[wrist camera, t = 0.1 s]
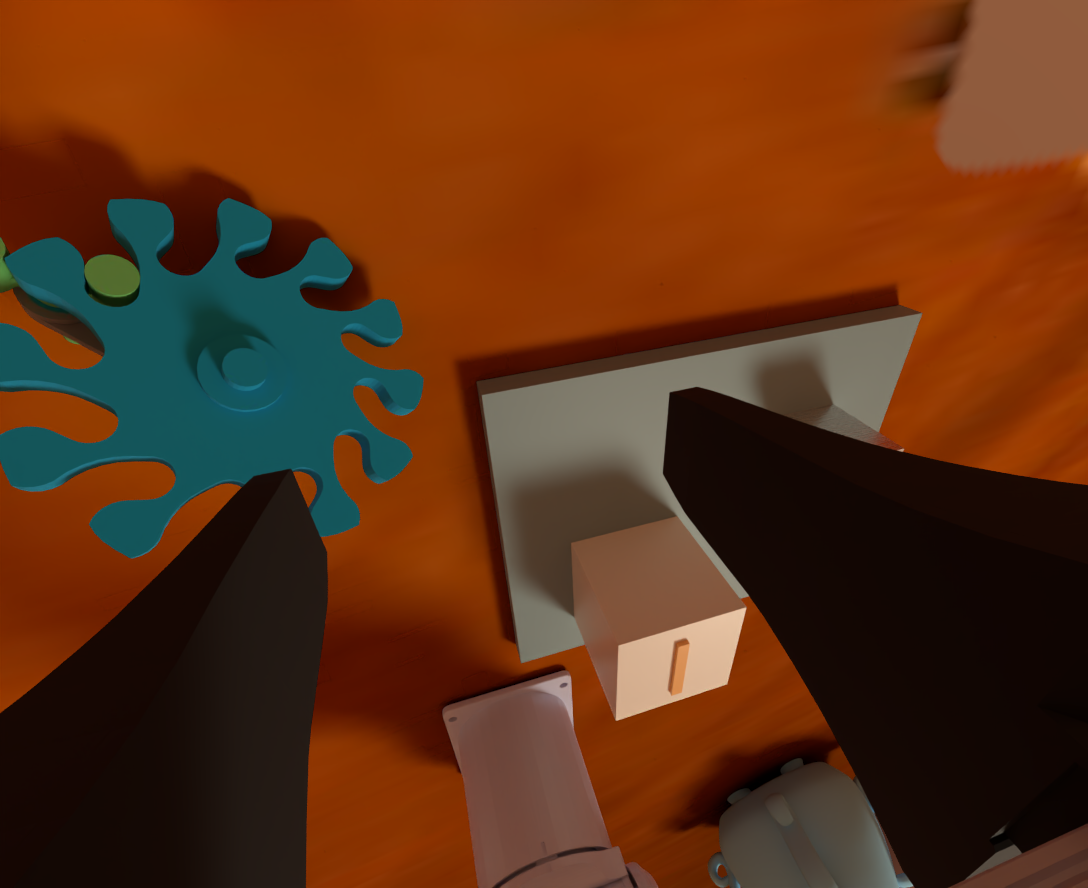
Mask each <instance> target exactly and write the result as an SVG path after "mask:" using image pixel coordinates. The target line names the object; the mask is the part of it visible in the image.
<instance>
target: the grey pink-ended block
mask: <svg viewBox="0 0 1088 888" xmlns="http://www.w3.org/2000/svg"><path fill="white" fill-rule="evenodd" d="M784 416H787V417H790V418H792V419H795V420H798V421H801V422H804V423H807V424H810V425H813V426H816V427H819V428H822V429H825V430H828V431H831V432H834V433H838V434H841V435H844V436H847V437H851V438H854V439H857V440H860V441H864V442H867V443H871V444H874V445H878V446H882V447H885V448H889V449H893V450H897V451H901V452H903V450H904V448H902V447H901V446H899V445H898V444H896V443H895V442H893V441H891V440H890V439H888V438H887V437H885V436H883V435H882V434H880V433H879V432H877V431H875V430H874V429H872V428H871V427H869V426H868V425H866V424H864V423H863V422H861V421H860V420H858V419H856V418H855V417H853V416H852V415H850V414H848V413H847V412H845V411H844V410H842V409H841V408H839V407H837V406H836V405H834V404H830V405H825V406H821V407H816V408H812V409H807V410H803V411H798V412H794V413H789V414H784Z"/></svg>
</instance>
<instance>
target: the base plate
mask: <svg viewBox="0 0 1088 888" xmlns="http://www.w3.org/2000/svg"><path fill="white" fill-rule="evenodd" d="M921 316H922V313H921V312H918V311H915V310H912V309H910V308H907V307H904V306H901V305H897V306H891V307H886V308H880V309H875V310H869V311H864V312H858V313H853V314H847V315H841V316H836V317H830V318H825V319H819V320H814V321H808V322H803V323H797V324H792V325H786V326H780V327H775V328H769V329H764V330H758V331H753V332H747V333H742V334H736V335H731V336H725V337H720V338H714V339H708V340H703V341H697V342H692V343H686V344H681V345H675V346H670V347H664V348H659V349H653V350H648V351H642V352H636V353H631V354H625V355H620V356H614V357H609V358H603V359H598V360H592V361H587V362H581V363H576V364H570V365H564V366H559V367H553V368H548V369H542V370H537V371H531V372H526V373H520V374H515V375H509V376H504V377H498V378H492V379H487V380H481V381H476V383H477V389H478V396H479V403H480V409H481V416H482V422H483V429H484V435H485V442H486V449H487V455H488V462H489V468H490V475H491V482H492V488H493V495H494V501H495V508H496V515H497V521H498V528H499V534H500V541H501V547H502V554H503V561H504V567H505V574H506V580H507V587H508V594H509V600H510V607H511V613H512V620H513V626H514V633H515V640H516V646H517V649H518V653H519V657H520V660H521V663H524V662H527V661H530V660H534V659H537V658H540V657H544V656H547V655H551V654H554V653H557V652H561V651H564V650H568V649H571V648H574V647H578V646H581V645H585V643H584V640H583V638H582V635H581V633H580V630H579V628H578V625H577V623H576V620H575V618H574V600H573V576H572V553H571V543H573V542H577V541H581V540H585V539H589V538H593V537H597V536H601V535H605V534H608V533H612V532H616V531H620V530H624V529H628V528H632V527H636V526H640V525H644V524H648V523H652V522H656V521H660V520H664V519H668V518H672V517H676V516H678V518H679V519H680V520H681V522H682V523H683V524H684V525H685V527H686V528H687V529H688V531H689V532H690V533H691V535H692V536H693V537H694V539H695V540H696V541H697V543H698V544H699V545H700V547H701V548H702V549H703V551H704V552H705V553H706V555H707V556H708V557H709V558H710V560H711V561H712V562H713V564H714V565H715V566H716V568H717V569H718V570H719V572H720V573H721V574H722V576H723V577H724V578H725V580H726V581H727V582H728V584H729V585H730V586H731V588H732V589H733V590H734V592H735V593H736V594H737V595H738V597H739V598H740V599H741V598H744V597H747V596H749V595H748V594H747V593H746V591H745V590H744V589H743V587H742V586H741V585H740V584H739V582H738V581H737V580H736V578H735V577H734V576H733V575H732V573H731V572H730V571H729V570H728V568H727V567H726V566H725V564H724V563H723V562H722V561H721V559H720V558H719V557H718V555H717V554H716V553H715V552H714V550H713V549H712V548H711V547H710V545H709V544H708V543H707V541H706V540H705V539H704V537H703V536H702V535H701V534H700V532H699V531H698V530H697V528H696V527H695V526H694V524H693V523H692V522H691V520H690V519H689V518H688V516H687V515H686V514H685V512H684V511H683V509H682V507H681V506H680V504H679V502H678V501H677V499H676V497H675V496H674V494H673V492H672V490H671V488H670V486H669V485H668V483H667V481H666V479H665V477H664V475H663V463H664V451H665V439H666V428H667V416H668V404H669V393H670V392H673V391H678V390H683V389H688V388H693V387H700V388H704V389H708V390H712V391H715V392H718V393H722V394H725V395H728V396H731V397H733V398H736V399H739V400H742V401H745V402H748V403H750V404H753V405H756V406H759V407H762V408H764V409H767V410H770V411H773V412H775V413H778V414H781V415H784V414H789V413H794V412H798V411H803V410H807V409H812V408H816V407H821V406H825V405H830V404H834V405H836V406H837V407H839V408H841V409H842V410H844V411H845V412H847V413H848V414H850V415H852V416H853V417H855V418H856V419H858V420H860V421H861V422H863V423H864V424H866V425H868V426H869V427H871V428H872V429H874V430H875V431H877V432H879V429H880V427H881V424H882V421H883V419H884V416H885V413H886V410H887V408H888V405H889V402H890V400H891V397H892V394H893V391H894V389H895V386H896V383H897V381H898V378H899V375H900V372H901V370H902V367H903V364H904V362H905V359H906V356H907V353H908V351H909V348H910V345H911V343H912V340H913V337H914V335H915V332H916V329H917V326H918V324H919V321H920V318H921Z"/></svg>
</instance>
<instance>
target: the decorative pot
mask: <svg viewBox="0 0 1088 888" xmlns="http://www.w3.org/2000/svg"><path fill="white" fill-rule="evenodd" d="M780 772H781V774H782V775H781V776H779V777H777V778H775V779H773V780H771V781H769V782H767V783H765V784H763V785H762V786H760V787H758V788H757V789H755V790H753V791H752V792H751V791H750V789H749V788H744V789H740V790H738V791H736V792H734V793H733V794H731V795H730V796H729V797H728V799H727V801H728V802H729V803H730V804H732V806H731V807H729V808H728V809H727V810H726V811H725V812H724V813H723V814H722V816H721V817H720V820H719V842H720V848H721V852H717V853H715V854H714V855H713V856H712V857H711V858H710V860H709V862H708V871H709V874H710V877H711V879H712V880H713V882H714V883H715V884H716V885H718V886H720V887H726V886H728V885H730V888H740V886H741V887H742V888H899V887H903V888H906V887H911V886H913V885H912V883H911V882H910V880H909V879H908V877H907V876H906V875H905V873H901V874H898V875H896V874H895V870H894V867H893V863H892V860H891V856H890V853H889V850H888V847H887V844H886V841H885V839H884V835H883V833H882V831H881V828H880V826H879V824H878V821H877V819H876V817H875V816H874V814H873V812H874V810H873V808H872V806H871V804H870V802H869V800H868V798H867V796H866V794H865V792H864V790H863V788H862V786H861V784H860V782H859V781H858V779H857V777H856V776H855V777H854V779H853V781H852V780H851V779H850V778H849V777H848V776H847V775H845V774H844V773H842V772H841V771H839V770H837V769H836V768H834V767H832V766H830V765H828V764H827V763H825V762H814V763H810V764H807V765H803V760H802V759H801V758H797V759H794V760H791V761H790V762H788V763H786V764H785V765H784V766H783V767H782V768H781V769H780ZM872 811H873V812H872ZM874 813H875V812H874ZM721 864H722V865H724V867H725V868H726V871H727V874H728V875H727V876H725V877H724V878H721V877H719V876H718V874H717V868H718V866H719V865H721Z"/></svg>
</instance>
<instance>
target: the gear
mask: <svg viewBox="0 0 1088 888" xmlns="http://www.w3.org/2000/svg"><path fill="white" fill-rule="evenodd" d="M107 212H108V217H109V222H110V226H111V230H112V234H113V236H114V237H115V239H116V240H117V242H118V243H119V244H120V245H121V246H122V247H123V248H124V249H125V250H126V251H127V252H128V253H129V255H130V256H131V257H132V259H133V260H134V262H135V264H136V266H137V268H138V270H139V272H138V270H137V268H136V267H135V266H134V265H133V264H132V263H131V262H129V261H128V260H126V259H124V258H122V257H119V256H116V255H99V256H96V257H93V258H91V259H90V260H89V261H88V262H87V264H86V265H85V264H84V261H83V258H82V256H81V254H80V253H79V252H78V250H77V249H76V248H75V247H74V246H72V245H71V244H70V243H68V242H67V241H65V240H63V239H60V238H58V237H54V238H47V239H43V240H39V241H36V242H33V243H31V244H29V245H26V246H24V247H22V248H20V249H18V250H17V251H15V252H14V253H12V254H10V253H9V251H8V249H7V248H6V246H5V244H4V242H3V241H2V239H1V237H0V293H1V292H5V291H8V290H10V289H12V288H13V291H14V294H15V295H16V297H17V299H18V301H19V302H20V304H21V305H22V307H23V308H24V310H25V311H26V312H27V314H28V315H29V316H30V317H32V318H33V319H34V320H36V321H37V322H39V323H41V324H42V325H44V326H46V327H48V328H50V329H52V330H54V331H56V332H58V333H60V334H61V335H63V336H64V338H65V339H66V340H68V341H69V342H71V343H74V344H80V345H82V346H84V347H86V348H88V349H90V350H92V351H94V352H95V353H97V354H99V355H101V356H103V358H102V360H101V361H100V362H99V363H98V364H96V365H94V366H92V367H89V368H86V369H79V370H77V369H68V368H64V367H62V366H59V365H57V364H56V363H54V362H53V361H51V360H50V359H49V357H48V356H47V355H46V354H45V352H44V351H43V349H42V348H41V347H40V345H39V344H38V342H37V341H36V340H35V339H34V338H33V336H32V335H30V334H29V333H27V332H26V331H25V330H22V329H20V328H18V327H16V326H13V325H9V324H4V323H0V391H4V392H16V391H27V390H42V391H53V392H60V393H65V394H69V395H73V396H77V397H80V398H82V399H84V400H87V401H89V402H92V403H94V404H96V405H98V406H100V407H102V408H104V409H106V410H108V411H110V412H112V413H113V414H115V415H116V416H117V417H118V420H119V421H118V427H117V429H116V431H115V432H114V433H113V434H112V435H111V436H110V437H109V438H107V439H105V440H103V441H100V442H96V443H81V442H77V441H74V440H71V439H69V438H67V437H64V436H62V435H60V434H58V433H56V432H53V431H51V430H48V429H45V428H39V427H21V428H15V429H12V430H9V431H6V432H5V433H3V434H1V435H0V461H1V464H2V467H3V470H4V472H5V474H6V476H7V478H8V480H9V482H10V484H11V486H13V487H16V488H18V489H20V490H25V491H45V490H49V489H53V488H55V487H58V486H60V485H62V484H63V483H65V482H66V481H68V480H69V479H71V478H72V477H74V476H76V475H78V474H80V473H82V472H84V471H86V470H89V469H92V468H95V467H98V466H101V465H106V464H111V463H116V462H131V461H152V462H159V463H162V464H165V465H166V466H168V467H169V468H170V469H171V470H172V471H173V472H174V474H175V477H176V481H175V484H174V486H173V488H172V489H171V490H170V491H169V492H168V493H167V494H165V495H164V496H162V497H159V498H156V499H151V500H127V501H119V502H116V503H112V504H110V505H108V506H106V507H104V508H102V509H101V510H100V511H98V512H97V513H96V514H95V516H94V517H93V518H92V520H91V521H90V523H89V525H90V527H91V528H92V530H93V531H94V533H95V534H96V535H97V536H98V537H99V538H100V539H101V540H102V541H103V542H105V543H106V544H107V545H109V546H110V547H112V548H113V549H115V550H117V551H118V552H120V553H122V554H124V555H125V556H127V557H129V558H135V557H139V556H142V555H144V554H146V553H147V552H149V551H151V550H152V549H153V548H154V547H155V546H156V545H157V544H158V542H159V541H160V539H161V537H162V534H163V532H164V529H165V527H166V526H167V524H168V523H169V521H170V519H171V518H172V517H173V516H174V514H175V513H176V512H177V511H178V510H179V509H180V508H181V507H182V506H183V505H185V504H186V503H187V502H188V501H190V500H191V499H193V498H194V497H196V496H198V495H199V494H201V493H203V492H205V491H207V490H209V489H211V488H213V487H215V486H218V485H220V484H225V483H231V484H236V485H238V486H240V487H243V486H244V485H245V484H246V483H247V482H248V481H249V480H250V479H251V478H252V477H253V476H256V475H261V474H266V473H271V472H276V471H281V470H286V469H292V472H295V471H300V472H304V473H307V474H309V475H310V476H311V477H312V478H313V479H314V480H315V482H316V485H317V492H316V495H315V498H314V499H313V501H312V503H311V504H310V506H309V508H308V509H309V511H310V514H311V516H312V518H313V521H314V523H315V525H316V528H317V530H318V532H319V535H320V537H324V536H330V535H334V534H338V533H341V532H344V531H347V530H349V529H351V528H353V527H355V526H357V525H359V521H360V513H359V509H358V507H357V505H356V504H355V502H354V501H353V500H352V499H351V498H350V497H349V496H348V495H347V494H346V493H345V491H344V490H343V489H342V487H341V485H340V483H339V481H338V479H337V476H336V472H335V469H334V459H333V444H334V440H335V438H336V436H339V435H349V436H351V437H353V438H355V439H356V440H357V441H358V442H359V443H360V445H361V448H362V464H363V469H364V472H365V474H366V475H367V477H368V478H369V479H370V480H372V481H374V482H376V483H378V484H380V483H383V482H385V481H388V480H390V479H392V478H393V477H395V476H396V475H398V474H399V473H400V472H401V471H402V470H403V469H404V468H405V466H406V465H407V464H408V463H409V461H410V460H411V459H412V457H413V455H412V452H411V450H410V449H409V447H408V446H407V445H406V444H405V443H404V442H402V441H400V440H398V439H395V438H392V437H390V436H388V435H386V434H384V433H382V432H381V431H379V430H378V429H377V428H375V427H374V426H373V425H372V424H371V423H370V422H369V421H368V420H367V418H366V417H365V416H364V414H363V413H362V411H361V410H360V408H359V406H358V405H357V403H356V401H355V399H354V396H353V389H354V386H358V385H364V386H368V387H369V388H371V389H372V390H374V391H375V393H376V394H377V395H378V397H379V399H380V400H381V402H382V404H383V405H384V407H385V408H386V409H387V410H388V411H390V412H391V413H393V414H396V415H406V414H408V413H410V412H411V411H413V410H414V409H415V408H416V407H417V405H418V403H419V401H420V398H421V394H422V389H423V379H424V378H423V377H422V376H421V375H420V374H418V373H417V372H415V371H412V370H408V369H403V370H387V369H382V368H378V367H375V366H373V365H370V364H368V363H366V362H365V361H363V360H361V359H359V358H358V357H356V356H355V355H353V354H352V353H350V352H349V351H348V350H346V348H345V347H344V346H343V344H342V341H341V334H344V333H353V334H356V335H358V336H360V337H361V338H363V339H364V340H366V341H367V342H369V343H370V344H372V345H374V346H377V347H388V346H391V345H392V344H394V343H395V342H396V341H397V340H398V339H399V338H400V337H401V336H402V323H401V319H400V316H399V313H398V310H397V308H396V306H395V303H394V302H393V301H390V300H386V299H378V300H376V301H373V302H372V303H371V304H369V305H368V306H366V307H363V308H361V309H358V310H353V311H332V310H326V309H320V308H316V307H313V306H311V305H309V304H308V303H307V302H306V301H305V300H304V299H303V297H302V296H301V293H300V289H302V288H306V287H312V288H318V289H323V290H336V289H339V288H340V287H342V286H343V285H344V283H345V282H346V280H347V278H348V277H349V275H350V273H351V272H352V269H353V267H352V265H351V263H350V261H349V260H348V258H347V257H346V256H345V254H344V253H343V252H342V251H341V250H340V249H339V248H338V247H337V246H336V245H335V244H334V243H333V242H332V241H330V240H329V239H328V238H319V239H316V240H315V241H313V242H312V243H311V244H310V246H309V248H308V251H307V253H306V255H305V256H304V258H303V260H302V261H301V262H300V263H299V264H298V265H296V266H295V267H294V268H292V269H290V270H289V271H286V272H284V273H281V274H278V275H275V276H271V277H268V278H263V279H260V278H253V277H250V276H248V275H246V274H245V273H243V272H242V271H241V270H240V269H239V268H238V266H237V264H236V261H237V260H239V259H241V258H244V257H248V256H252V255H256V254H259V253H261V252H262V251H263V250H264V249H265V248H266V246H267V244H268V240H269V236H270V233H271V229H272V222H271V219H270V218H268V217H267V216H266V215H264V214H263V213H261V212H260V211H258V210H256V209H254V208H252V207H250V206H248V205H246V204H243V203H241V202H238V201H235V200H233V199H230V198H227V199H226V200H224V201H223V202H222V203H221V204H220V205H219V208H218V212H217V222H216V232H217V236H218V240H219V246H218V248H217V251H216V253H215V254H214V256H213V257H212V258H211V260H210V261H209V262H208V263H207V264H206V265H205V267H204V268H203V269H202V270H201V271H200V272H198V273H196V274H194V275H189V276H182V275H177V274H174V273H172V272H170V271H168V270H166V269H165V268H164V267H163V266H162V265H161V264H160V263H159V260H160V259H161V258H162V257H163V256H164V254H165V253H166V252H167V251H168V250H169V249H170V248H171V247H172V245H173V242H174V219H173V216H172V213H171V211H170V210H169V208H168V207H167V206H166V205H165V204H163V203H159V202H156V201H151V200H143V199H112V200H110V201H109V203H108V206H107ZM139 273H140V275H139Z"/></svg>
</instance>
